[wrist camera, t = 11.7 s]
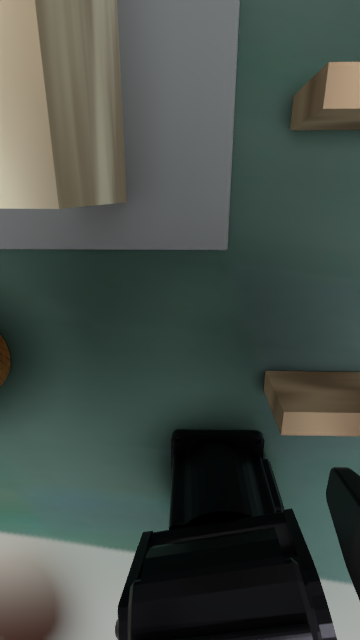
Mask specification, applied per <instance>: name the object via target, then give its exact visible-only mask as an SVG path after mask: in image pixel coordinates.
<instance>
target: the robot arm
mask: <svg viewBox="0 0 360 640" xmlns="http://www.w3.org/2000/svg"><path fill="white" fill-rule="evenodd" d="M177 437H179V438H181V439H176V438H177ZM255 439H259V440H257V441H255ZM263 449H264V438H263V435H262V434H261V433H259V432H232V431H175V432H173V434H172V437H171V465H172V485H171V502H170V519H169V530H166V531H160V532H153V531H148V532H143V534H142V537H141V539H140V542H139V545H138V547H137V550H136V553H135V556H134V559H133V562H132V565H131V568H130V572H129V574H128V577H127V581H126V583H125V587H124V590H123V593H122V596H121V599H120V602H119V605H118V620H117V622H116V626H115V634H116V637H117V639H118V640H337V638H336V634H335V630H334V626H333V623H332V619H331V615H330V612H329V608H328V605H327V602H326V599H325V595H324V592H323V589H322V586H321V582H320V579H319V576H318V573H317V570H316V568H315V565H314V562H313V560H312V557H311V555H310V552H309V550H308V547H307V545H306V542H305V540H304V537H303V535H302V532H301V530H300V527H299V525H298V522H297V520H296V517H295V515H294V512H293V510H292V509H286V510H284V506H283V503H282V500H281V497H280V493H279V490H278V487H277V484H276V480H275V477H274V474H273V471H272V467H271V464H270V462H269V461H268V460H267V459H262V458H263ZM326 499H327V503H328V506H329V510H330V513H331V517H332V520H333V523H334V527H335V530H336V533H337V537H338V540H339V544H340V547H341V550H342V554H343V557H344V560H345V563H346V566H347V569H348V572H349V575H350V577H351V580H352V582H353V585H354V587H355V590H356V592H357V594H358V597H359V600H360V476H359V475H358V474H356V473H355V472H354V471H353V470H351V469H349V468H345V467H334V468H332V469H331V471H330V475H329V480H328V485H327V490H326Z"/></svg>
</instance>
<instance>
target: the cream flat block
mask: <svg viewBox="0 0 360 640" xmlns="http://www.w3.org/2000/svg"><path fill="white" fill-rule="evenodd" d="M126 202H127V196H126V175H125V155H124V134H123V113H122V93H121V72H120V52H119V31H118V10H117V0H0V209H63V208H74V207H84V206H95V205H105V204H115V203H126Z"/></svg>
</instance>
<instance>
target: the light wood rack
mask: <svg viewBox="0 0 360 640" xmlns="http://www.w3.org/2000/svg"><path fill="white" fill-rule="evenodd" d="M290 130H360V62H329V63H328V64H327V65H325V66H324V67H323V68H322V69H321V70H320V71H319V72H318V73H317V74H316V75H315V76H314V77H313V78H312V79H311V80H310V81H309V82H308V83H307V84H306V85H305V86H303V87H302V88H301V89H300V90H299V91H298V92H297V93H296V94H295V95H294V96H293V105H292V115H291V124H290ZM264 393H265V395H266V398H267V400H268V403H269V406H270V408H271V411H272V413H273V416H274V418H275V421H276V424H277V426H278V429H279V431H280V434H281V435H311V436H360V372H323V371H266V372H265V382H264Z"/></svg>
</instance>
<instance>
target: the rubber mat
mask: <svg viewBox="0 0 360 640" xmlns="http://www.w3.org/2000/svg"><path fill="white" fill-rule="evenodd" d="M239 5H240V0H117V10H118V31H119V52H120V72H121V93H122V113H123V134H124V155H125V175H126V196H127V202H126V203H115V204H105V205H95V206H84V207H74V208H63V209H0V249H107V250H227V248H228V228H229V208H230V188H231V167H232V147H233V127H234V107H235V86H236V66H237V46H238V26H239Z"/></svg>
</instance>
